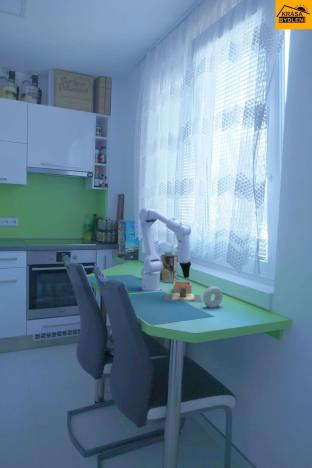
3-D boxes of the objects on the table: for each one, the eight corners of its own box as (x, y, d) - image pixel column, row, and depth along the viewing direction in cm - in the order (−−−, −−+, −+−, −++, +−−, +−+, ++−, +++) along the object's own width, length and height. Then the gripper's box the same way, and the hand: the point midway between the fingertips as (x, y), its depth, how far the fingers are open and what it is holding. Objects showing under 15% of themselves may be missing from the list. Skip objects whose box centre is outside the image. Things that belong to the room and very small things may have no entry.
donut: (205, 310, 149) (206, 287, 148) (200, 308, 152) (201, 286, 151) (223, 308, 153) (224, 286, 152) (218, 305, 156) (219, 284, 156)
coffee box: (176, 281, 207) (177, 255, 205) (173, 283, 201) (174, 256, 199) (162, 279, 210) (163, 254, 209) (159, 281, 204) (160, 255, 203)
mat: (163, 301, 160) (164, 300, 160) (164, 294, 173) (164, 293, 173) (202, 303, 159) (202, 302, 159) (200, 296, 172) (200, 295, 172)
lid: (171, 300, 161) (171, 290, 160) (171, 294, 172) (172, 285, 171) (194, 301, 160) (195, 291, 160) (193, 295, 171) (193, 286, 171)
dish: (173, 294, 175) (174, 284, 174) (173, 290, 184) (174, 281, 183) (191, 295, 174) (191, 285, 174) (190, 291, 183) (190, 281, 183)
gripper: (193, 248, 160) (195, 277, 159) (191, 248, 174) (193, 275, 174) (178, 250, 160) (180, 278, 159) (177, 249, 174) (179, 276, 174)
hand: (186, 277), depth 167 cm, fingers open, 7 cm apart
